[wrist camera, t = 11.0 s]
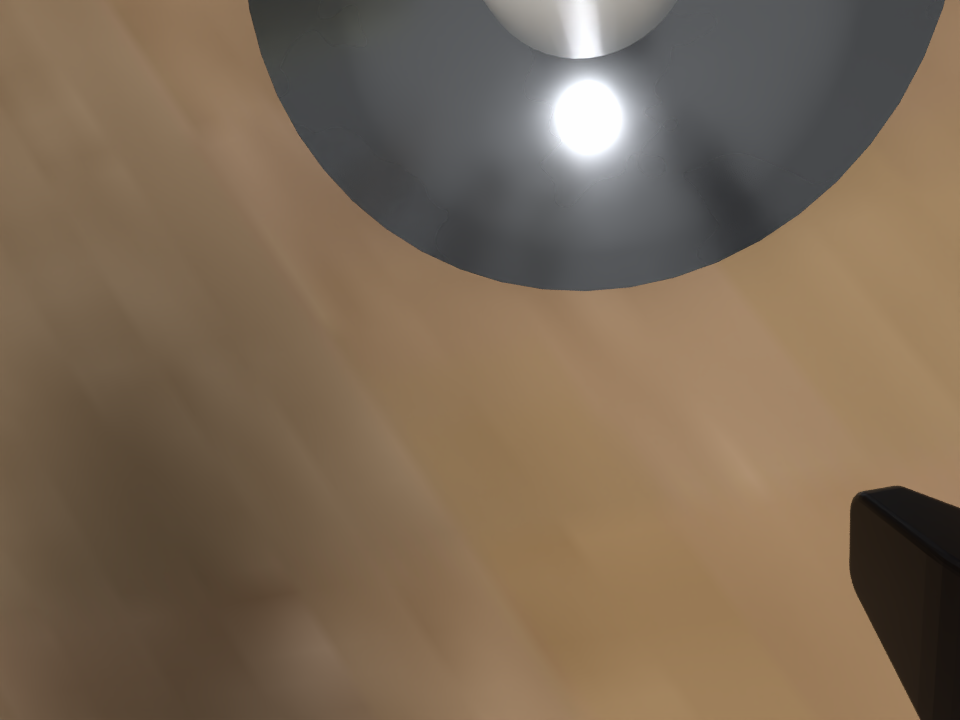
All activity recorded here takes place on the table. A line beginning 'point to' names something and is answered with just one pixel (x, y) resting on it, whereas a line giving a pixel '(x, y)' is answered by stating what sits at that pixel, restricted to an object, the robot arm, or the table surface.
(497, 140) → the flange plate
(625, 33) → the duct elbow
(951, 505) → the robot arm
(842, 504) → the table surface
